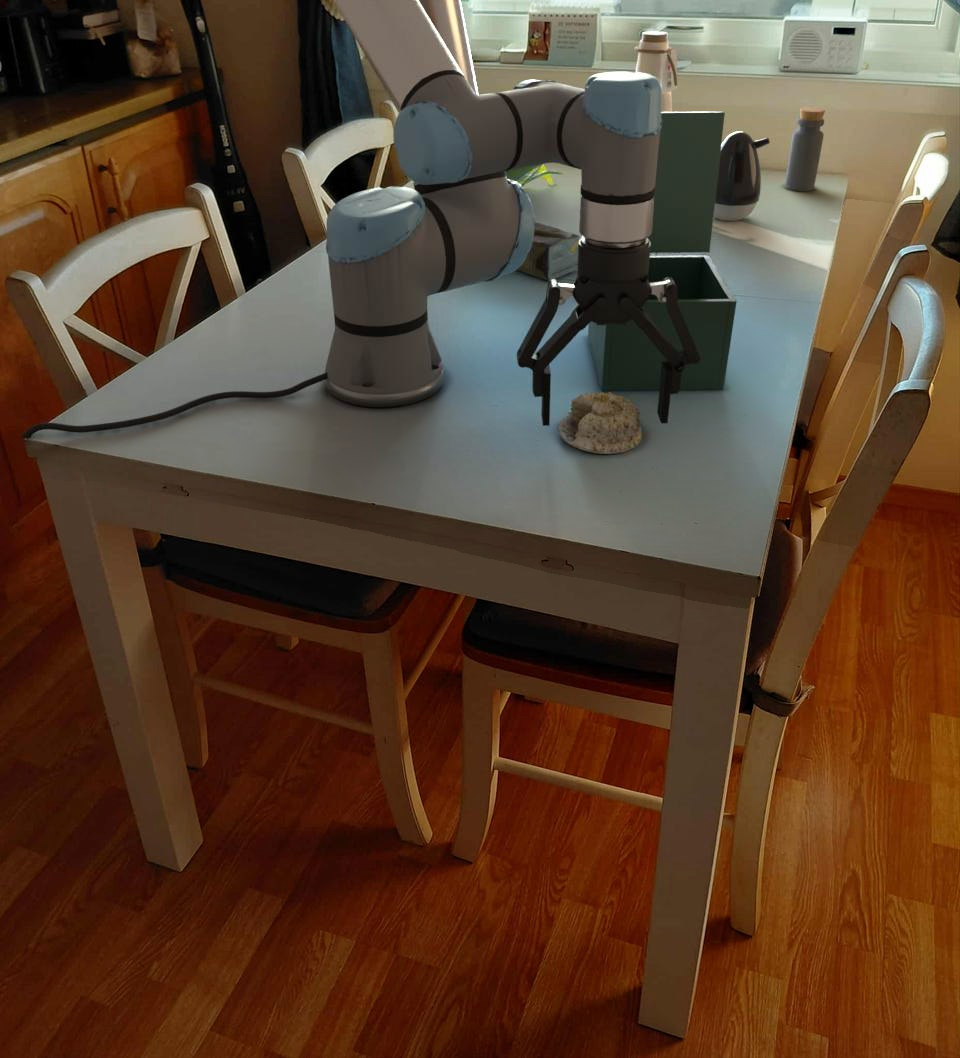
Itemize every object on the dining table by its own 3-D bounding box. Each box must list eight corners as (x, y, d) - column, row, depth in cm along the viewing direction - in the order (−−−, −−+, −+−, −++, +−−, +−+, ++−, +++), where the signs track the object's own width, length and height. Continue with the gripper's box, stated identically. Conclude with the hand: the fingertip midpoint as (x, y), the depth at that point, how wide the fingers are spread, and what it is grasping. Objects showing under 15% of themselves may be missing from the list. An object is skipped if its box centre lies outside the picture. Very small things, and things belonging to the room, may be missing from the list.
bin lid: (724, 112, 122) (723, 111, 123) (600, 113, 122) (599, 112, 123) (709, 252, 131) (708, 251, 132) (593, 253, 131) (592, 252, 132)
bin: (723, 389, 125) (736, 301, 118) (601, 390, 124) (607, 302, 118) (697, 337, 138) (708, 255, 132) (587, 338, 138) (592, 256, 131)
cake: (628, 415, 120) (635, 375, 117) (652, 456, 112) (660, 415, 109) (549, 415, 118) (555, 374, 115) (568, 457, 110) (574, 415, 107)
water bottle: (676, 180, 205) (692, 32, 189) (659, 191, 199) (674, 38, 183) (631, 173, 209) (643, 28, 193) (613, 183, 203) (624, 34, 187)
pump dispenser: (756, 227, 179) (770, 140, 170) (699, 222, 181) (709, 136, 173) (758, 211, 187) (771, 127, 178) (703, 207, 189) (713, 124, 181)
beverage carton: (547, 283, 156) (548, 242, 152) (464, 255, 167) (463, 216, 163) (580, 270, 160) (582, 230, 157) (496, 244, 172) (497, 206, 168)
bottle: (778, 185, 202) (791, 107, 193) (803, 182, 203) (817, 105, 195) (794, 192, 197) (808, 113, 189) (819, 190, 199) (834, 111, 190)
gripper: (726, 224, 105) (704, 402, 117) (494, 228, 105) (495, 406, 117) (743, 245, 99) (718, 432, 110) (496, 250, 99) (497, 436, 110)
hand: (603, 419), depth 114 cm, fingers open, 13 cm apart
